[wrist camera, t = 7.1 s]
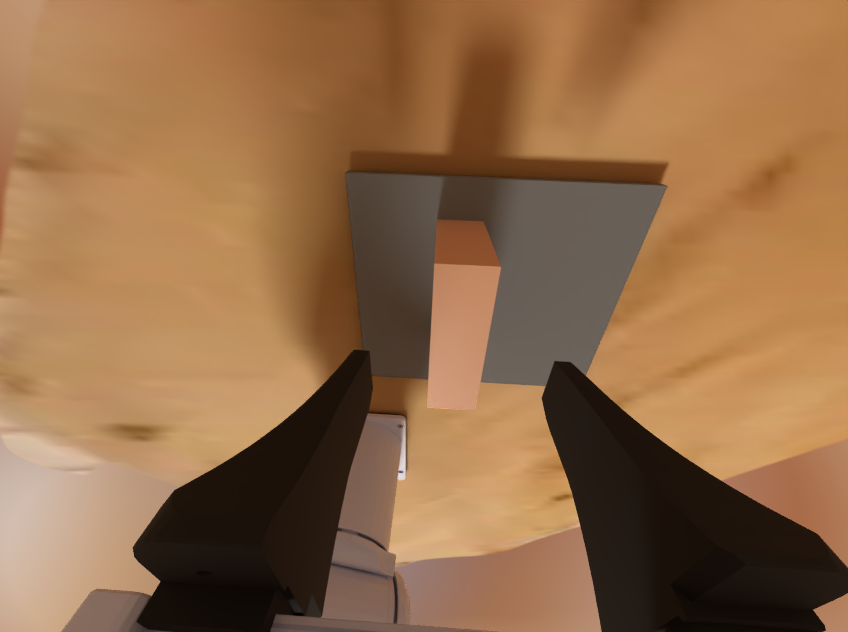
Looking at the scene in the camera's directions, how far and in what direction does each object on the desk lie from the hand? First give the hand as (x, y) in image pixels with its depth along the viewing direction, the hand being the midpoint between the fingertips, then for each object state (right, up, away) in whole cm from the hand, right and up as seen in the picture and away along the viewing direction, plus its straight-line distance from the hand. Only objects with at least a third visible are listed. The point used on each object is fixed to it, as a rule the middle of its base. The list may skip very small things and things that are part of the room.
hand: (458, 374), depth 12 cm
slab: (0, +4, +7) cm, 8 cm away
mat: (+2, +4, +7) cm, 9 cm away
